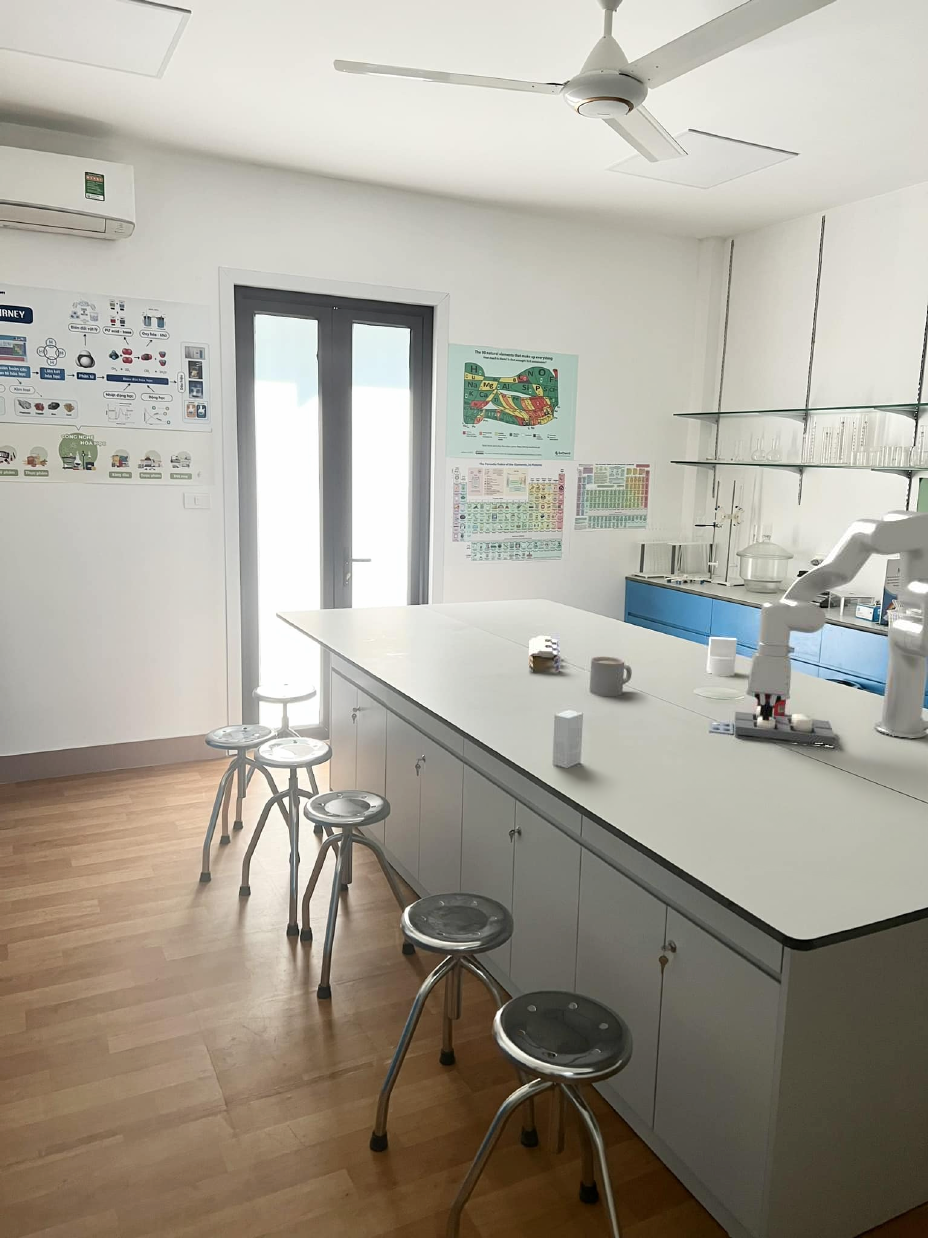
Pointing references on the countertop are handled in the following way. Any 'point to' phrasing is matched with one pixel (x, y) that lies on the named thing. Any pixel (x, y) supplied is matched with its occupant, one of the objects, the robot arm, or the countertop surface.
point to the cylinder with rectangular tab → (721, 655)
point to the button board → (776, 730)
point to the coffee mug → (608, 676)
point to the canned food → (778, 707)
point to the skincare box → (567, 738)
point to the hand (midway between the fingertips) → (765, 719)
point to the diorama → (544, 649)
